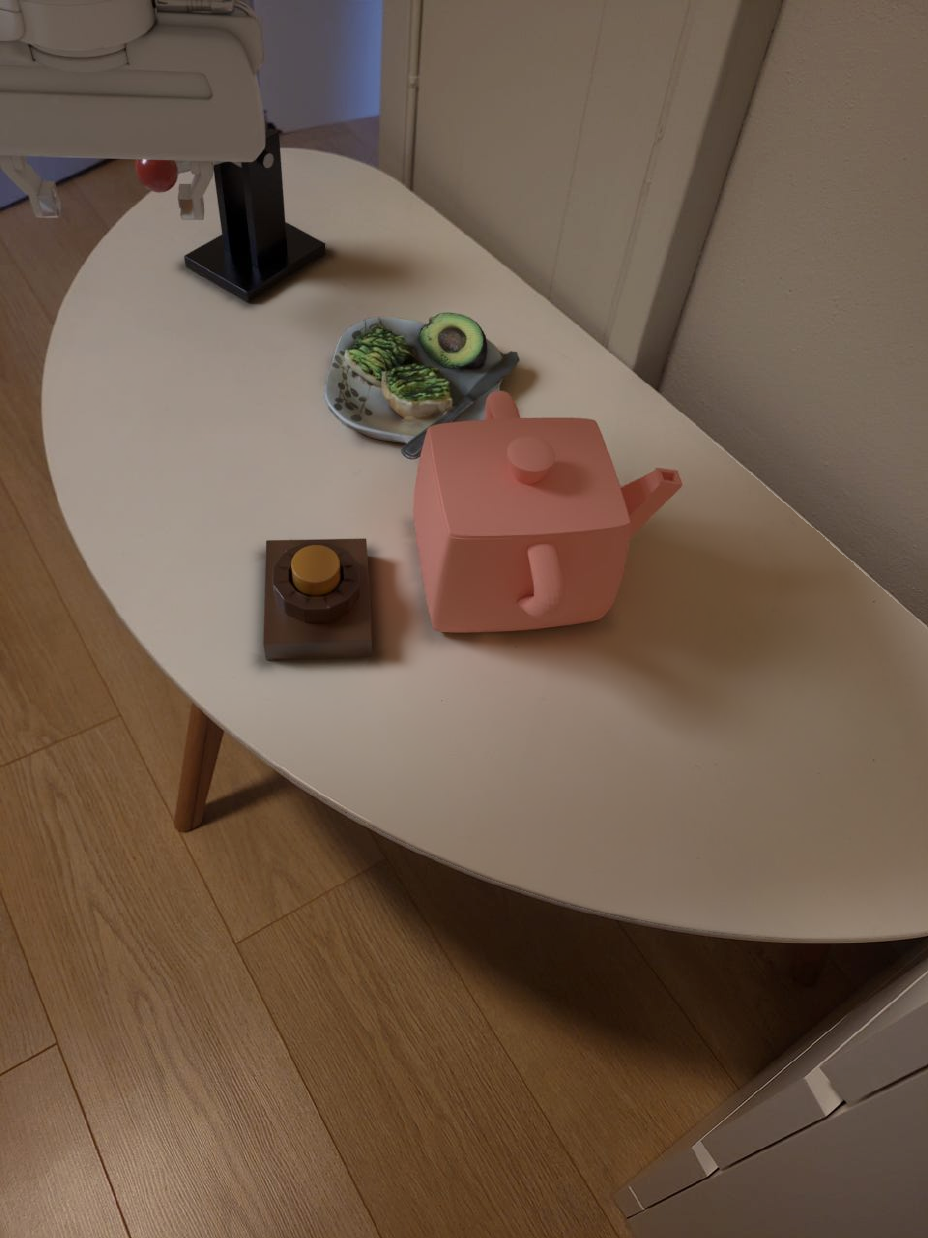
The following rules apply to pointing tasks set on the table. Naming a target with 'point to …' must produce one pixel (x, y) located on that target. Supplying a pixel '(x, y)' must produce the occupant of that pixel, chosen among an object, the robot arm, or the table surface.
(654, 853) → the table surface
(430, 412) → the plate of avocado toast
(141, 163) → the lever
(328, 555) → the button
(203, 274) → the bracket
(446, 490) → the teapot
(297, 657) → the button block
